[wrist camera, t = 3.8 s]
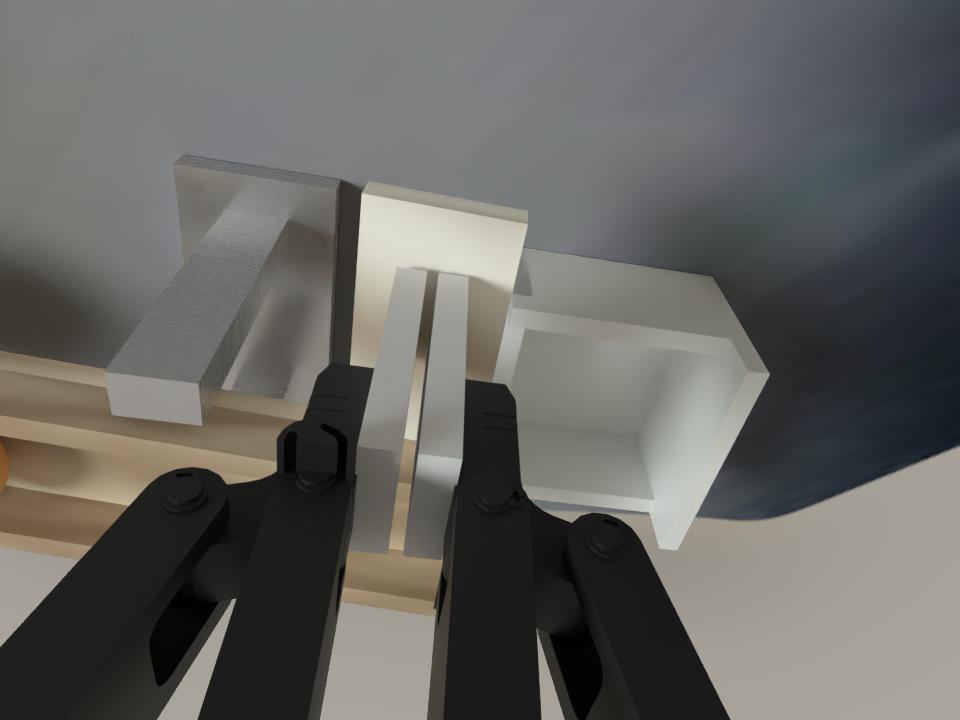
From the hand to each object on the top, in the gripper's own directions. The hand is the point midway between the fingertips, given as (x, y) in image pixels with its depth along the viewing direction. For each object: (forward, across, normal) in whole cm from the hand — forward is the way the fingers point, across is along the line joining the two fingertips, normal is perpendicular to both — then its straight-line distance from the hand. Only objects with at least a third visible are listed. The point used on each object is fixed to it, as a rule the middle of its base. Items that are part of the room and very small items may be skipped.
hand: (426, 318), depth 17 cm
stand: (+11, -7, -7) cm, 15 cm away
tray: (+11, +8, -8) cm, 15 cm away
